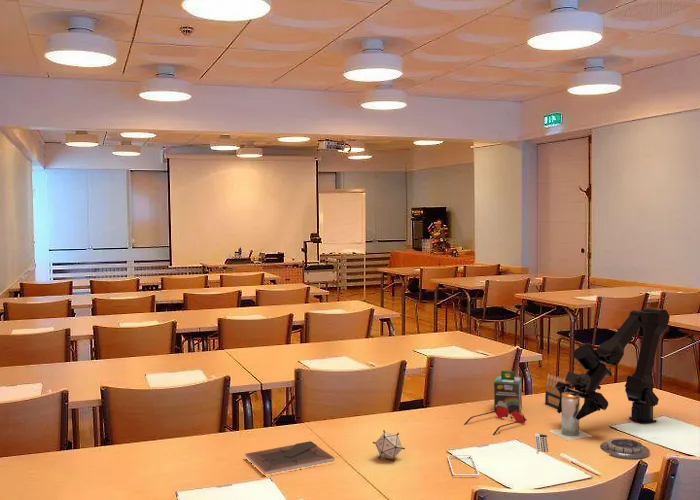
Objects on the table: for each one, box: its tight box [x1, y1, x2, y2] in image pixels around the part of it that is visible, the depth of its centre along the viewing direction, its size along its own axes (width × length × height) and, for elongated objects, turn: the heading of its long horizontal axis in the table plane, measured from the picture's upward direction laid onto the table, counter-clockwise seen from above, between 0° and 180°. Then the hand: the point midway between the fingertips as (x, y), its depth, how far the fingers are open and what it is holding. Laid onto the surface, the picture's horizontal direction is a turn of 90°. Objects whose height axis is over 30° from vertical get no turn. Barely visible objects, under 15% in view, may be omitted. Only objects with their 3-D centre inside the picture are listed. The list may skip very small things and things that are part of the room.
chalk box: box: [493, 370, 523, 414], centre depth 253 cm, size 9×9×15 cm
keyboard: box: [534, 432, 549, 454], centre depth 216 cm, size 17×6×2 cm, turn 167°
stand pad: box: [548, 428, 594, 441], centre depth 225 cm, size 10×10×1 cm
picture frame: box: [244, 440, 336, 475], centre depth 204 cm, size 16×2×22 cm
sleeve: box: [560, 392, 581, 436], centre depth 224 cm, size 6×6×13 cm
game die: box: [372, 429, 406, 462], centre depth 205 cm, size 9×8×10 cm
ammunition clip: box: [544, 372, 566, 410], centre depth 256 cm, size 11×2×12 cm, turn 21°
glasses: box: [463, 406, 528, 436], centre depth 236 cm, size 14×16×5 cm
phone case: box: [447, 454, 480, 477], centre depth 198 cm, size 7×1×15 cm
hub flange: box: [599, 437, 651, 460], centre depth 210 cm, size 14×14×2 cm
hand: (567, 415), depth 224 cm, fingers open, 8 cm apart
